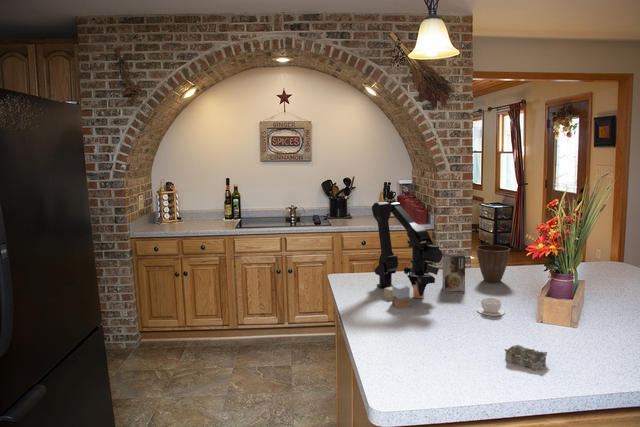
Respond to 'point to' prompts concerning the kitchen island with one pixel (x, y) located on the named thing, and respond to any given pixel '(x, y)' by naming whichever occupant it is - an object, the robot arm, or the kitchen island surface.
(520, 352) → the egg carton
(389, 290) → the olive block
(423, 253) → the robot arm
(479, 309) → the teacup
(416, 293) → the terracotta cylinder
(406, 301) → the tower base
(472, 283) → the kitchen island surface
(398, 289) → the tower mid
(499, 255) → the plant pot
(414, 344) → the kitchen island surface
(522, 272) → the kitchen island surface
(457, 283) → the coffee box
